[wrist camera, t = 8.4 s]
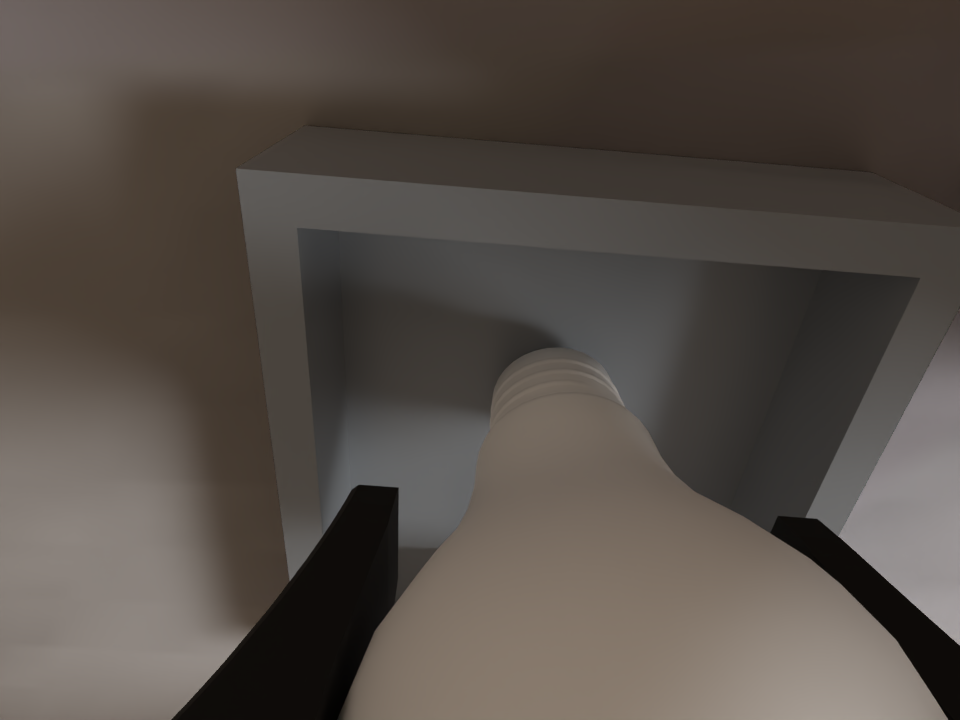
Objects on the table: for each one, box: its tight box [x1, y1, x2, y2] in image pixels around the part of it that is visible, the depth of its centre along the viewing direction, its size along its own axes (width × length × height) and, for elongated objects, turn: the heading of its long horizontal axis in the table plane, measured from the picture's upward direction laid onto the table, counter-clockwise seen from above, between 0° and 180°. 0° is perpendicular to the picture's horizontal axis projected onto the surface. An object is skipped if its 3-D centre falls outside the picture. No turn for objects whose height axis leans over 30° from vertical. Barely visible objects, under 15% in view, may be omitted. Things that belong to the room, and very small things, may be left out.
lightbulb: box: [337, 347, 948, 720], centre depth 8 cm, size 6×6×11 cm
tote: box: [236, 126, 960, 605], centre depth 14 cm, size 16×11×4 cm
